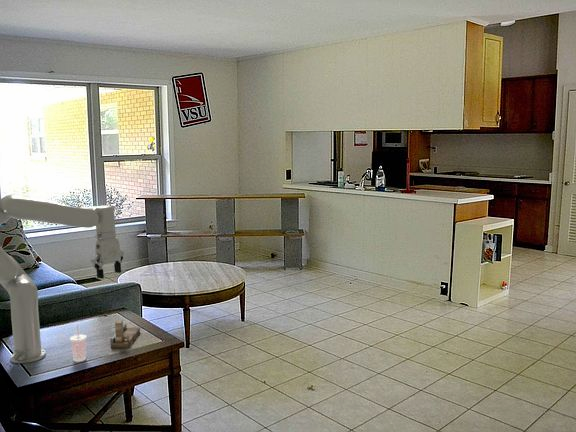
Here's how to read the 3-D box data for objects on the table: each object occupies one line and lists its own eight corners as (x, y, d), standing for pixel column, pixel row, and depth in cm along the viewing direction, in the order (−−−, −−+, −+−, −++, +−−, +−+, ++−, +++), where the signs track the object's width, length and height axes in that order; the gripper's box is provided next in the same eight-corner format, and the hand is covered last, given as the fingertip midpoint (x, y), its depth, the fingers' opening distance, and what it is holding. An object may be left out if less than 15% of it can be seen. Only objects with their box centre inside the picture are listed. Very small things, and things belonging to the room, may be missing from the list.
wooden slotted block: (127, 347, 218) (127, 338, 218) (110, 348, 218) (110, 338, 218) (139, 332, 236) (139, 323, 236) (124, 332, 236) (123, 323, 236)
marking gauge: (127, 341, 219) (126, 323, 218) (115, 342, 219) (114, 323, 218) (130, 338, 223) (129, 320, 222) (118, 338, 223) (117, 320, 222)
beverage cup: (67, 360, 206) (65, 325, 204) (81, 354, 212) (78, 321, 210) (78, 363, 203) (75, 328, 201) (91, 358, 209) (89, 323, 206)
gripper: (96, 239, 212) (99, 281, 214) (128, 232, 227) (131, 271, 229) (83, 238, 215) (86, 279, 218) (115, 231, 230) (118, 269, 233)
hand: (109, 275), depth 224 cm, fingers open, 9 cm apart
